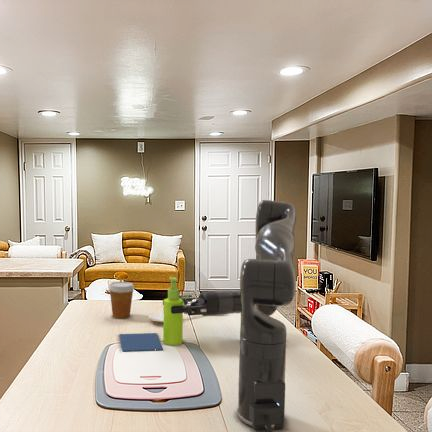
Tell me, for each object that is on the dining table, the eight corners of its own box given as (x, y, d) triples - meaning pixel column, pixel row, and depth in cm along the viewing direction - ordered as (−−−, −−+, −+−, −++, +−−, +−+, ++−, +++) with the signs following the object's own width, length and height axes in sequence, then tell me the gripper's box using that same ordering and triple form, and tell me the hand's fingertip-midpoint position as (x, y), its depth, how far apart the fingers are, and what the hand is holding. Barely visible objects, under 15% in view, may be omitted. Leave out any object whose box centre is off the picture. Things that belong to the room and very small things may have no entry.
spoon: (227, 314, 164) (228, 305, 163) (157, 327, 147) (157, 317, 147) (212, 308, 171) (212, 300, 171) (143, 320, 155) (143, 311, 154)
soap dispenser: (180, 337, 138) (181, 275, 137) (183, 345, 131) (184, 280, 130) (162, 337, 138) (163, 275, 137) (164, 345, 131) (164, 280, 130)
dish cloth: (163, 350, 127) (163, 348, 127) (122, 351, 125) (122, 350, 125) (156, 334, 141) (156, 333, 141) (119, 335, 139) (119, 334, 139)
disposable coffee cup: (104, 314, 163) (104, 282, 162) (128, 311, 167) (128, 280, 166) (113, 321, 154) (114, 288, 153) (138, 318, 158) (138, 285, 157)
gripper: (207, 286, 144) (160, 288, 140) (225, 297, 130) (174, 299, 126) (207, 308, 144) (160, 311, 140) (225, 321, 130) (173, 325, 126)
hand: (167, 306), depth 133 cm, fingers open, 8 cm apart
